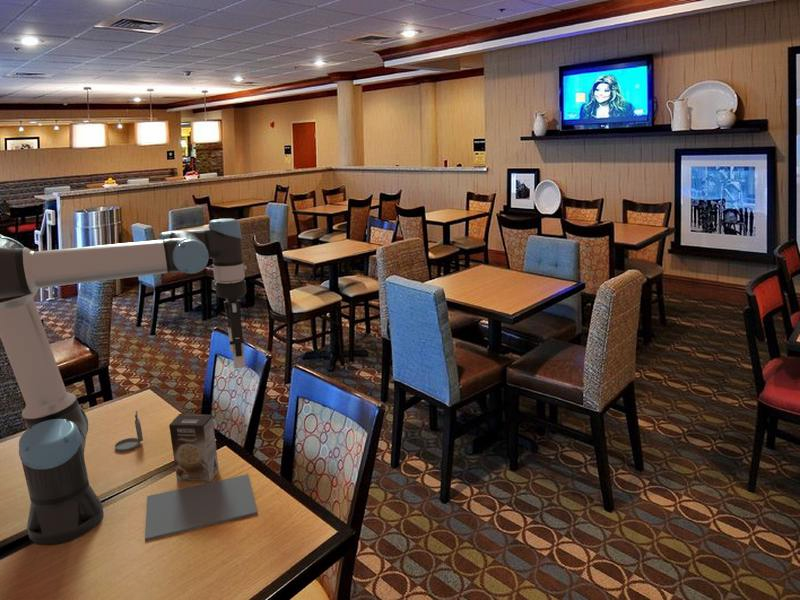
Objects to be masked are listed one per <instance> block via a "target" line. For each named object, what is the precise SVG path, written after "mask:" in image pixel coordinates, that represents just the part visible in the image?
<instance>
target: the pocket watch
mask: <svg viewBox="0 0 800 600" xmlns="http://www.w3.org/2000/svg"><path fill="white" fill-rule="evenodd" d="M138 415H139V414H138V410H136V411H135V415H134V418H135V419H134V426H135V431H136V435H137V438H136V437H128V438H125V439H121V440H119V441H118V442H116V443H115V444H114V449H115V450H116V451H119V452H126V451H131V450H134V449H135V448H137V447H139V446H140V444H141V442H143V441H144V438H143V437H144V436H143V431H142V426H141V421H140V419H139V418H138Z"/></svg>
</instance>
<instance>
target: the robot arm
mask: <svg viewBox="0 0 800 600" xmlns="http://www.w3.org/2000/svg"><path fill="white" fill-rule="evenodd" d="M241 230H242V229H241V223H240V221H239V220H238V219H236V218H219V219H216V218H215V219H211V220H210V221H209V222H208V228H207V227H206V228H203V229H186V230H184V229H183V230H170V231H163V232H160V233H159V234H158V239H156V240H155V239H154V240H145V241H143V240H142V241H135V242H134V241H133V242H122V243H113V244H111V243H110V244H102V245H93V246H92V245H90V246H81V247H79V246H78V247H72V248H69V247H68V248H60V249H59V248H58V249H49V250H39V251H37V250H36V251H34V250H31V249H30V248H29V247H25V246H24V245H23V244H22V243H21V242H19V241H18V240H15V239H14V238H12V237H8V236H0V340H1V343H2V345H3V348H4V351H5V354H6V356H7V358H8V360H9V363H10V365H11V369H12V371H13V375H14V377H15V380H16V382H17V384H18V385H17V386H18V387H19V389H20V392H21V395H22V397H23V400H24V403H25V407H24V409H23V411H22V412H21V416H22V419H23V421H24V424H25V427H26V430H25V431H24V432H23V434H21V436H20V438H19V440H18V455H19V458H20V460H21V464H22V465H21V466H22V469H23V473H24V478H25V482H26V487H27V491H28V494H29V499H30V505H29V506H30V507H29V512H28V518H27V524H26V529H27V535H28V538H29V540H30V541H31V542H32V543H35V544H38V545H48V546H49V545H57V544H62V543H66V542H69V541H72V540H74V539H78V538H79V537H82V536H84V535H86V534H87V533H88V532H90V531H92V530H93V529H95V528H96V527H97V526H98V525H99V523H101V521H102V519H103V518H104V508H103V504H102V501H101V500H100V498H99V497H98V495H97V494H96V492H95V491H94V490H93V488H92V486H91V485H90V480H89V475H88V472H87V466H86V462H85V447H86V441H87V435H88V431H89V420H88V417H87V414H86V411H85V410H84V409H83V408H82V407H81V406H80V404H79V401H78V399H77V395H75V394H74V393H71V392H69V391H67V389H66V386H65V383H64V381H63V378H62V375H61V372H60V369H59V366H58V365H57V362H56V361H57V360H56V359H55V356H54V353H53V350H52V347H51V345H50V341H49V339H48V335H47V333H46V330H45V328H44V324H43V322H42V320H41V317H40V314H39V311H38V308H37V305H36V303H35V300H34V298H35V296H36V295H37V293H38V291H39V289H43V288H51V287H59V286H60V287H61V286H67V285H68V286H69V285H75V284H78V285H79V284H84V283H94V282H102V281H109V280H119V279H126V278H127V279H128V278H137V277H142V276H143V277H144V276H145V277H146V276H152V275H163V274H173V273H180V272H181V273H184V274H197V273H199V272H201V271H203V270H204V269H205V268H206V267H207V265H208V262H209V260H210V259H212V267H213V269H212V270H213V279H214V281H215V283H214V287H215V295H216V297H218V298H220V299H221V298H222V299H225V301H223V307H224V310H225V314H226V322H227V327H228V328H227V331H228V332H227V333H228V341H229V343H228V344H229V351H230V352H232V357H233V368H234V369H241V368H246V359H245V350H244V349H245V348H244V342H245V340H244V336H243V328H242V312H241V311H242V310H241V309H242V304H241V301H240V300H239V299H238V298H239V297H243V296H245V295H246V294H247V283H246V282H247V281H246V280H245V275H246V274H245V271H246V270H247V266H246V265H245V264H244V263H245V262H244V249H243V248H244V247H243V236H242V231H241Z"/></svg>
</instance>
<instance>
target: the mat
mask: <svg viewBox="0 0 800 600" xmlns="http://www.w3.org/2000/svg"><path fill="white" fill-rule="evenodd" d="M146 497H147V498H146V510H145V512H146V513H145V526H144V527H145V529H144V530H145V532H144V541H145V542H148V541H151V540H154V539H155V540H156V539H160V538H164V537H168V536H172V535H176V534H180V533H184V532H188V531H193V530H197V529H202V528H205V527H210V526H215V525H218V524H222V523H226V522H231V521H235V520H239V519H242V518H247V517H251V516H256V515H259V514H258V513H259V511H258V509H257V504H256V500H255V497H254V492H253V489H252V482H251V479H250V477H249V474H248V473H247V474H243V475H237V476H233V477H228V478H222V479H219V480H215V481H211V482H209V483H206V482H204V483H200V484H196V485H192V486H187V487H183V488H182V487H181V488H177V489H174V490H173V489H172V490H168V491H163V492H160V493H154V494H150V495H147V496H146Z"/></svg>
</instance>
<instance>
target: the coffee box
mask: <svg viewBox="0 0 800 600" xmlns="http://www.w3.org/2000/svg"><path fill="white" fill-rule="evenodd" d="M168 426H169V427H168V428H169V433H170V441H171V447H172V448H171V449H172V454H173V461H174V462H173V463H174V467H175V476H176V482H178V483H179V482H181V483H182V482H184V483H209V482H212V481H213V479H214V478H215V476H216V475H217V473H218V472H219V471H218V470H219V469H220V468H219V462H218V461H219V460H218V452H217V444H216V436H215V426H214V418H213V414H201V413H200V414H198V413H194V414H193V413H179V414H178V415H177V416H176V417H175V418H174V419H173V420H172V422H171V423H169V425H168Z"/></svg>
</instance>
